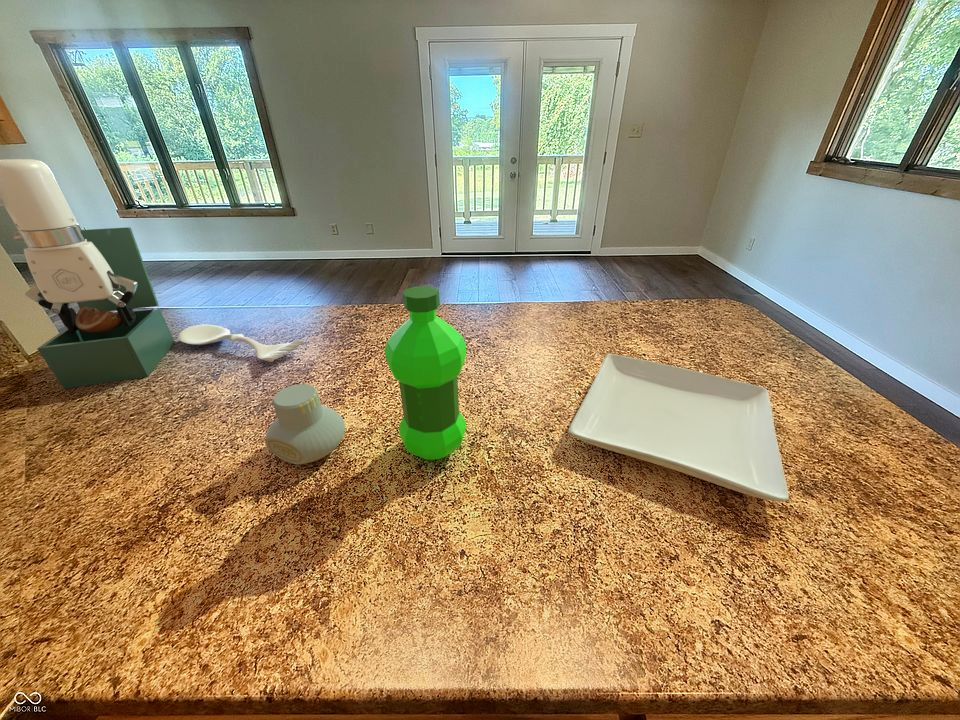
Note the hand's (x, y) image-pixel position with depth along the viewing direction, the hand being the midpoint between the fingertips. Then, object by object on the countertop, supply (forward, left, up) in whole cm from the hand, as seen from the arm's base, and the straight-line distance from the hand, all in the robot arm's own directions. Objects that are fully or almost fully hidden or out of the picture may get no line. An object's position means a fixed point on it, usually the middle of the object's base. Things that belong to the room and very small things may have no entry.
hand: (104, 326), depth 76 cm
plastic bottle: (+57, -46, -9) cm, 74 cm away
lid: (0, +9, +9) cm, 12 cm away
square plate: (+95, -53, -9) cm, 109 cm away
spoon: (+22, 0, -9) cm, 24 cm away
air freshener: (+39, -40, -9) cm, 57 cm away
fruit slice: (0, 0, -1) cm, 1 cm away
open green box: (0, 0, -9) cm, 9 cm away
